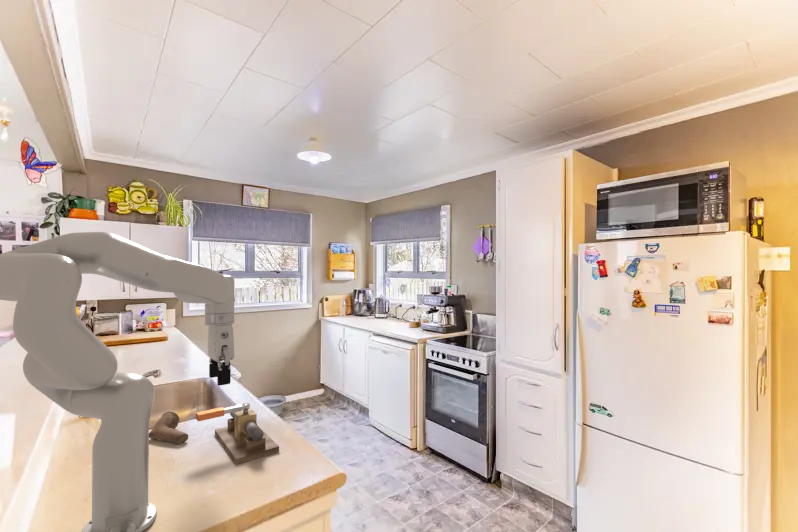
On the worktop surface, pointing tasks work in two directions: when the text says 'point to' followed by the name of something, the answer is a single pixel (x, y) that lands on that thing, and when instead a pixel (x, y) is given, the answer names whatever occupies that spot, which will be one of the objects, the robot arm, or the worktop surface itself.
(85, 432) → the worktop surface
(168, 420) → the pipe
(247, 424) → the valve stand
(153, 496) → the worktop surface
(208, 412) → the valve lever
